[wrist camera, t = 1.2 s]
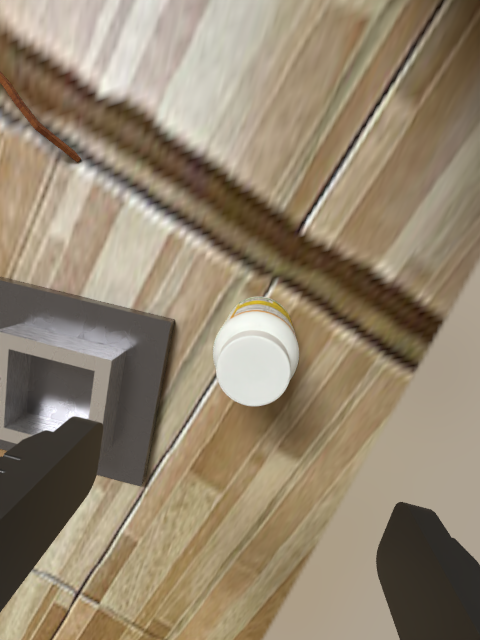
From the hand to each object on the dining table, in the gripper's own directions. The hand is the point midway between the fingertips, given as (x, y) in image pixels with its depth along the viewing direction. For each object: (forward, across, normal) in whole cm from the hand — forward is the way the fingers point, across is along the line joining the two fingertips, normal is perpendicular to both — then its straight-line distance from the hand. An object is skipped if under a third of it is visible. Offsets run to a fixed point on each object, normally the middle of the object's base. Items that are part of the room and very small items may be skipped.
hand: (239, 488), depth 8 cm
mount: (+18, +15, +9) cm, 25 cm away
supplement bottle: (+18, 0, 0) cm, 18 cm away
